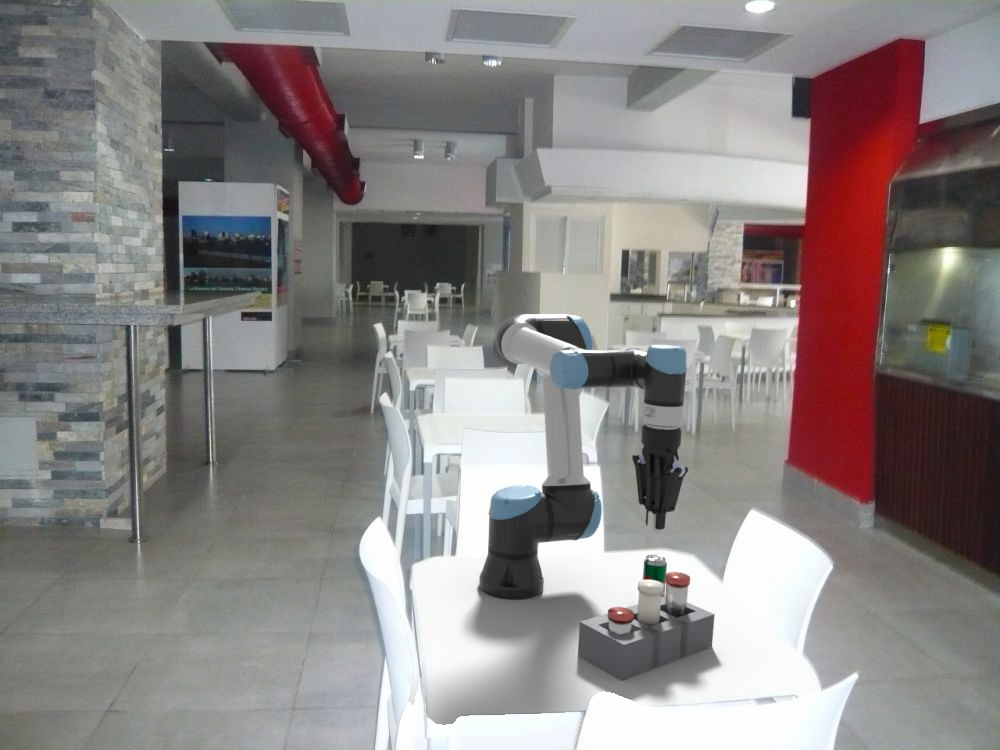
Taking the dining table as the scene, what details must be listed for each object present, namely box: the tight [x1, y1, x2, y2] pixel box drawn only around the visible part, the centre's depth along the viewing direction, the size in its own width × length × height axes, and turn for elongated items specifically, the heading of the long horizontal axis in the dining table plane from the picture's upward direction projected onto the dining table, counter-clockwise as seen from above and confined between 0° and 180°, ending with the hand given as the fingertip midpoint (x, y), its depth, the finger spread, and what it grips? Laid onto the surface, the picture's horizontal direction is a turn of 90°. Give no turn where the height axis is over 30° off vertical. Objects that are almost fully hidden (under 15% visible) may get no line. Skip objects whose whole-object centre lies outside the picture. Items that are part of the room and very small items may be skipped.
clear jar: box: [664, 571, 691, 618], centre depth 179 cm, size 5×5×9 cm
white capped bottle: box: [637, 579, 664, 627], centre depth 174 cm, size 5×5×9 cm
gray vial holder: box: [577, 596, 715, 681], centre depth 174 cm, size 26×12×7 cm, turn 128°
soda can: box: [642, 554, 668, 597], centre depth 195 cm, size 5×5×12 cm
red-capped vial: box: [607, 606, 634, 636], centre depth 169 cm, size 5×5×9 cm
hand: (653, 543), depth 172 cm, fingers closed
